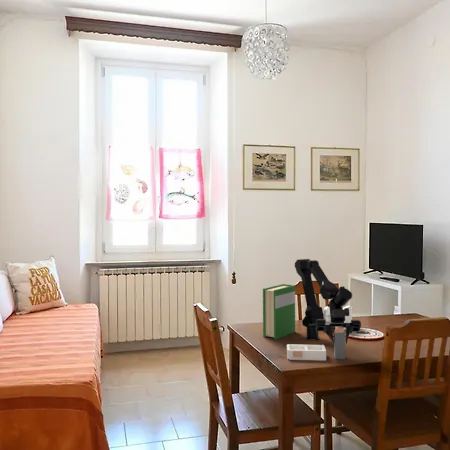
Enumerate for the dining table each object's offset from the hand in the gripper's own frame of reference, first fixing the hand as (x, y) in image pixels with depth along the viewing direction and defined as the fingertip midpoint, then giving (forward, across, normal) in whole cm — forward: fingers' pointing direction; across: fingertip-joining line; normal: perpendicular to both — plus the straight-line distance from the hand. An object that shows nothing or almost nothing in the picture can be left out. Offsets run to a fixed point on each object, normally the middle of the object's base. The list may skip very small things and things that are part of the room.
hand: (339, 343), depth 199 cm
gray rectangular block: (+4, 0, +6) cm, 7 cm away
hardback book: (-21, -25, +30) cm, 45 cm away
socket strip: (+4, -14, +6) cm, 16 cm away
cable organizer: (-31, +6, +40) cm, 51 cm away
